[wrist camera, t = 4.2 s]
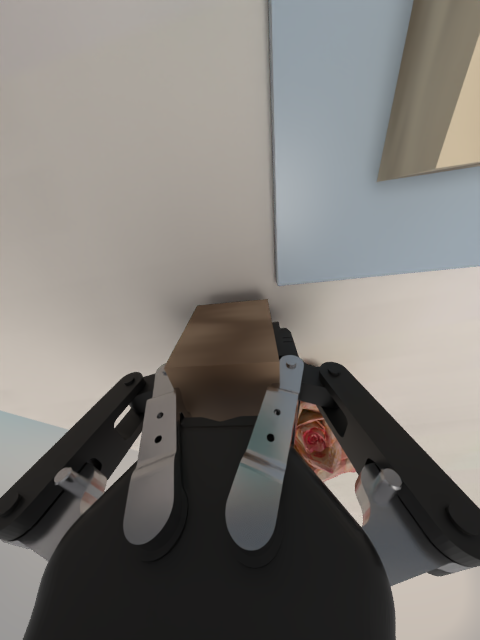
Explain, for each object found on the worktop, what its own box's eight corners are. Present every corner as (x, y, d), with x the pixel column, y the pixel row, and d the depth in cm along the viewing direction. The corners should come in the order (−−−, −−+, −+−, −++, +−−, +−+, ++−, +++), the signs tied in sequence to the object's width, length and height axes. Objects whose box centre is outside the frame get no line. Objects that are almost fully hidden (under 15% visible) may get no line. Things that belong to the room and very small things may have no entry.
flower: (343, 431, 22) (395, 485, 14) (270, 455, 22) (282, 521, 14) (313, 354, 23) (346, 363, 15) (244, 377, 23) (241, 398, 15)
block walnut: (211, 357, 16) (193, 429, 11) (197, 305, 13) (163, 367, 8) (270, 353, 15) (280, 427, 10) (267, 299, 13) (279, 361, 7)
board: (276, 280, 15) (277, 286, 14) (260, -301, 5) (262, -423, 4) (476, 260, 13) (495, 264, 12) (932, -618, 4) (1183, -925, 3)
